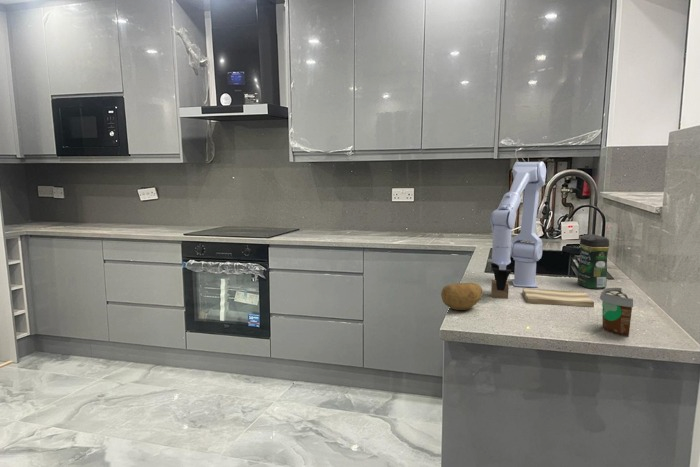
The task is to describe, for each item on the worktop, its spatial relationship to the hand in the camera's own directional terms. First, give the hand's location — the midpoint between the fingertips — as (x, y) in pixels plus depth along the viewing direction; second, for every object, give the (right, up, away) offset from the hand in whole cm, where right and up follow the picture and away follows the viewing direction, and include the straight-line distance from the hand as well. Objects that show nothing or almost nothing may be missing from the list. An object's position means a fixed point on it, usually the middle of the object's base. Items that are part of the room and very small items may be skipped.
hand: (499, 287), depth 157 cm
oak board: (+17, -4, -4) cm, 18 cm away
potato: (-16, -5, -14) cm, 21 cm away
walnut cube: (0, -3, 0) cm, 3 cm away
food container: (+19, -8, -32) cm, 38 cm away
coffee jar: (+37, -1, +14) cm, 40 cm away
